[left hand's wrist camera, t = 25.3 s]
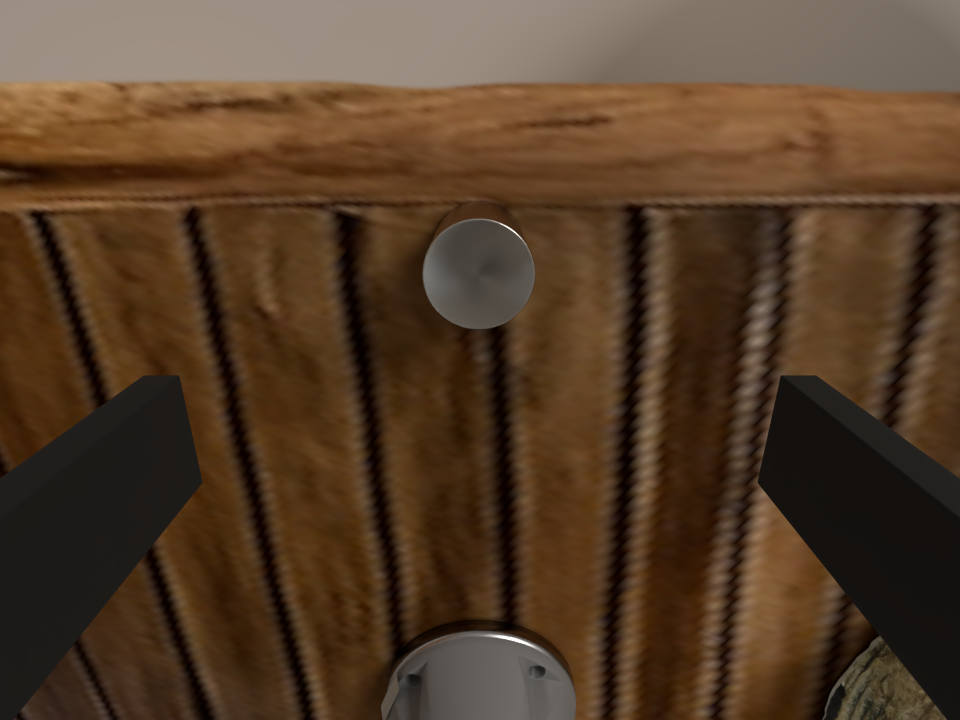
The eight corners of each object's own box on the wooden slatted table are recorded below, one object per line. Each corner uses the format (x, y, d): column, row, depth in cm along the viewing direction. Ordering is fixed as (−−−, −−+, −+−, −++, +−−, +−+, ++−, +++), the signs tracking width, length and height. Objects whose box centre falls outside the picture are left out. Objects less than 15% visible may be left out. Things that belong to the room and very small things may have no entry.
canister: (459, 305, 34) (454, 347, 27) (417, 226, 32) (401, 250, 26) (538, 267, 33) (553, 300, 26) (500, 183, 31) (505, 197, 25)
